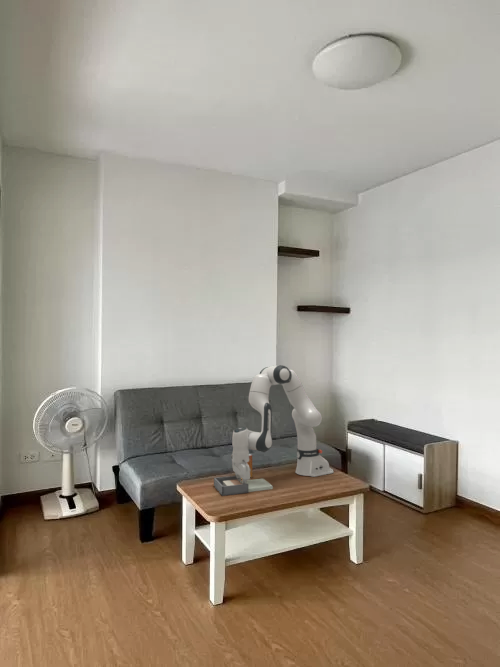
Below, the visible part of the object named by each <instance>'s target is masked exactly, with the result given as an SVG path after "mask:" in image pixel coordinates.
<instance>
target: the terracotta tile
mask: <svg viewBox="0 0 500 667" xmlns="http://www.w3.org/2000/svg"><path fill="white" fill-rule="evenodd" d="M230 481H231V482H232V483H233V484H234V485H239V484H241V483H240V482H239V481H238V480H230Z"/></svg>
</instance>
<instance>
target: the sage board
mask: <svg viewBox="0 0 500 667" xmlns="http://www.w3.org/2000/svg"><path fill="white" fill-rule="evenodd" d="M240 483H241V484H242V483H243V480H241V482H240ZM247 483H248V493H251V492H258V491H260V492H261V491H266V490H267V491H268V490H273V488H274V485H272V484H271V483H270V482H269V481H267V480H266V479H265V478H263V477H262V478H256V479H250V480H247ZM247 483H246V484H247Z"/></svg>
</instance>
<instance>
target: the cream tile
mask: <svg viewBox="0 0 500 667" xmlns="http://www.w3.org/2000/svg"><path fill="white" fill-rule="evenodd" d="M230 485H234V484H233V483H232V482H231V481H230V480H228V481H223V486H230Z"/></svg>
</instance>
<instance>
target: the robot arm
mask: <svg viewBox="0 0 500 667" xmlns="http://www.w3.org/2000/svg"><path fill="white" fill-rule="evenodd" d="M302 383H303V382H301V379H300V377H299V376H298V375H297V373H296V372H295V370H294V369H289V368H288V367H287V366H285V365H272V366H267V367H264V368H262V369H261V371H260V372H259V373H258V374H255V375H254V376H253V378H252V381H251V384H250V388H249V393H248V404H250V407H252V408H253V409H254V410H255V411H257V412H258V413H259V414H260V416H261V431H260V432H258V431H253V430H250V429H248V427H245V426H238V427H235V429H234V428H233V432H232V437H231V443H232V454H231V455H230V460H231V465H232V470H233V472H234V474H235V473H236V477H237V480H238V481H239V482H241V481H243V483H242V484H246V483H247V480H251V478H250V468H249V465H248V464H247V462H249V454H250V451H249V450H254V451H258V452H261V453H266V452H268V451H270V449H271V448H272V446H273V435H272V432H273V431H272V430H273V429H272V427H273V426H272V425H273V424H272V422H273V421H272V420H273V410H272V408H273V407H272V405H271V404H270V402H269V401H270V400H269V398H270V397H269V396H270V389H271V387H272V386H277V385H280V386H282V388H283V390H284V393H285V395H286V397H287V400H288V401H289V404H290V405H291V406H292V407H293V409H292V412H291V417H292V419H293V421H294V426H295V430H296V435H297V437H296V438H297V448H296V459H297V462H296V463H297V464H296V468H295V474H297V475H300V476H304V477H305V476H307V477H308V476H309V477H319V476H325V475H330V474H334V469H333V468H331V467H330V464H329V461H328V460H327V459H325V458H324V457H323V456H322V455H320V454H323V450H322V449H319V448H317V434H316V433H315V430H314V428H316V427H318V426H320V424H321V423H322V422H323V420H322V419H323V418H322V417H323V416H322V414H321V412H320V411H319V410H318V409H317V407H315V405H314V403H313V401H312V400H311V399H310V397H309V396H308V394H307V392H306V390H305V388H304V386H303V384H302ZM240 477H241V478H242V479H241V478H240Z"/></svg>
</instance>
